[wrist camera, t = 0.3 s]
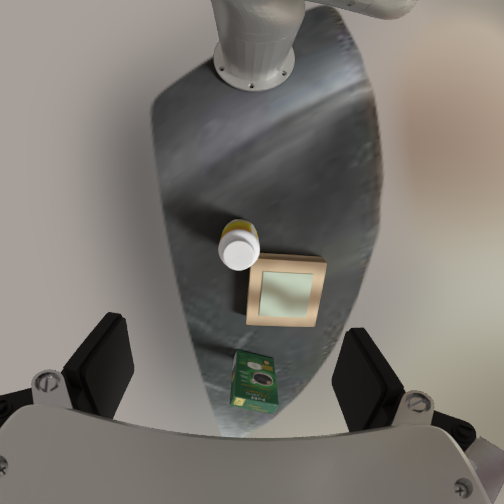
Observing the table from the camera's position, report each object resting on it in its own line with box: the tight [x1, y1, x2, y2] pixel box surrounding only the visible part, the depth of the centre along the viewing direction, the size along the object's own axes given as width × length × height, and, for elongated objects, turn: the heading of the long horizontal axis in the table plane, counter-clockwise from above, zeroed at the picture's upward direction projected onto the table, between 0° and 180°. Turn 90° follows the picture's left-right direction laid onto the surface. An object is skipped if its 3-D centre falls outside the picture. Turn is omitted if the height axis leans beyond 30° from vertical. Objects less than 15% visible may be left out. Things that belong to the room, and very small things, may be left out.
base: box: [246, 253, 327, 327], centre depth 46 cm, size 12×12×3 cm
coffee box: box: [230, 350, 279, 414], centre depth 46 cm, size 8×3×13 cm, turn 71°
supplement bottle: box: [218, 219, 260, 270], centre depth 39 cm, size 6×6×10 cm
